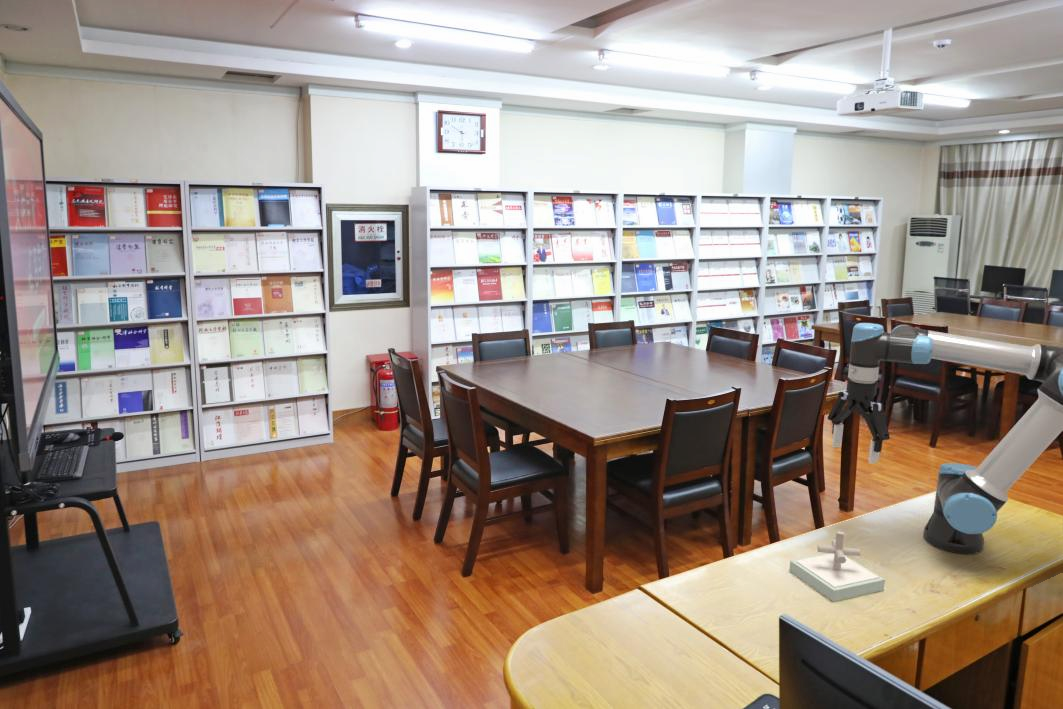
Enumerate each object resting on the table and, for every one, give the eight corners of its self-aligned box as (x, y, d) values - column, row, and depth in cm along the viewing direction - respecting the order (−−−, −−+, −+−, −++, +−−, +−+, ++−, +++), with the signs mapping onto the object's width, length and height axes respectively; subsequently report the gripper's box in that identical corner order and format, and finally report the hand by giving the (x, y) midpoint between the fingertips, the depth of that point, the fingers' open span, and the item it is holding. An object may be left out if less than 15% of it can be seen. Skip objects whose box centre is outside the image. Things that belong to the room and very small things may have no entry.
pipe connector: (861, 580, 185) (865, 543, 183) (819, 576, 187) (822, 539, 185) (853, 561, 195) (857, 526, 193) (813, 557, 197) (817, 522, 195)
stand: (837, 561, 202) (838, 550, 201) (883, 590, 187) (885, 578, 187) (789, 571, 196) (790, 559, 196) (833, 601, 182) (834, 589, 181)
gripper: (819, 370, 212) (812, 441, 217) (888, 392, 190) (878, 471, 194) (839, 369, 215) (832, 439, 220) (910, 390, 192) (900, 467, 197)
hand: (854, 454), depth 207 cm, fingers open, 13 cm apart
